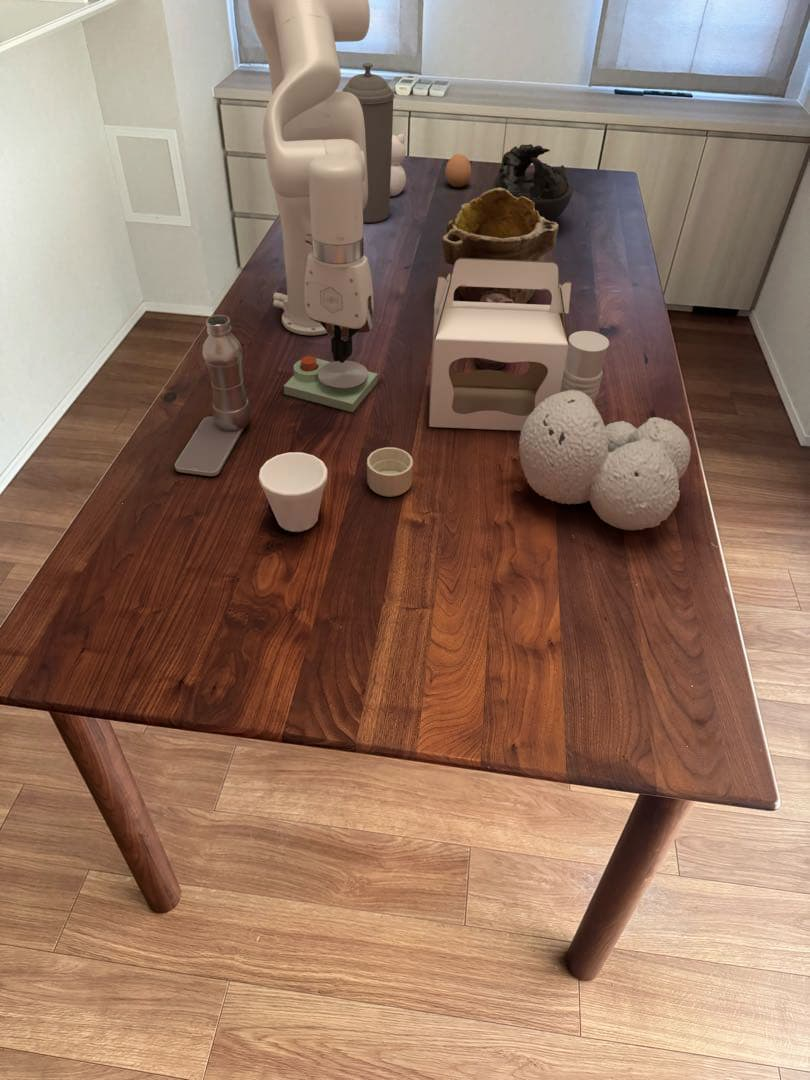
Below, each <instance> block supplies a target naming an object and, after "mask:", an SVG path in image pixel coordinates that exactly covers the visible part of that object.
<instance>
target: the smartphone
mask: <svg viewBox="0 0 810 1080" xmlns="http://www.w3.org/2000/svg"><path fill="white" fill-rule="evenodd" d="M244 429H245V427H244V428H243V429H240V430H237V431H226V430H223V429H221V428H220V427H219V426H218V425H217V424H216V423H215V420H214V417H213V416H206V417H204V418H202V420H201V422H200V424H199V425H198V427H197V428H196V429H195V432H194V433H193V434H192V437H191V438H190V439H189V440H188V443H187V444H186V446H185V447H184V449H183V451H181V454H180V455H179V457H178V458H177V460H176V461H175V463H174V468H175V471H176V472H179V473H183V474H191V475H197V476H207V477H216V476H218V475H219V474H220V472H221V470H222V468H223V466H224V465H225V463H226V461H227V459H228V457H229V456H230V454H231V452H232V450H233V448H234V447H235V445H236V444H237V441H238V440H239V438H240V436H241V434H242V433H243V431H244Z"/></svg>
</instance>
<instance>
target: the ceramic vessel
mask: <svg viewBox="0 0 810 1080" xmlns="http://www.w3.org/2000/svg"><path fill="white" fill-rule="evenodd" d="M534 205H535V203H534V202H533V201H531V200H529V199H528V198H525V197H520V198H516V197H514V196H513V195H512V194H511V193H509V191H508V190H506V189H504V188H494V189H493V188H492V189H489V190H486V191H484V192H483V193H481V194H480V195H479V196H478V197H475V198H473V199H471V200H470V201H469V202H466V203H462V204H461V205H460V207H459V211H458V212H457V214H456V216H455V218H454V219H451V220H449V221H448V223H447V225H446V234H443V236H441V246H442V253H443V258H444V262H445V263H446V264H448V265H452V266H454V264H455V261H456V260H457V259H459V258H475V259H500V260H524V261H540V258H541V257H542V256H543V255H545V254H547V253H549V252H551V251H553V250H554V249H555V247H556V244H557V236H558V231H559V224H558V223H557V222H556V221H553V222H550V221H548V220H545V218H543V217H542V216H540V215H539V212H538V211H535V208H534ZM456 290H457V291H458V293H459V294H460V296H461V297H462V298H463V299H464V301H465V302H480V300H481V298H482V297H483V295H484V294H485V293H486V292H489V291H502V292H505V293H508V294H509V295H510V296H511V297H512V300H513V302H514V304H527V302H528V301H530V299H531V298H532V296H533V295H534V292H535V290H536V289H520V288H496V287H472V286H465V287H462V286H459V287H457V288H456Z"/></svg>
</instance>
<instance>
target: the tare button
mask: <svg viewBox="0 0 810 1080" xmlns="http://www.w3.org/2000/svg"><path fill="white" fill-rule="evenodd" d="M300 360H301V366H302V370H303V371H314V370H316V369H317V362H316V357H314V356H312V355H305V356H303V357H301V359H300Z"/></svg>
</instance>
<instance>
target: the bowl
mask: <svg viewBox="0 0 810 1080" xmlns="http://www.w3.org/2000/svg"><path fill="white" fill-rule="evenodd" d="M413 466H414V459H413V457H412V455H411V454H410V453H409V452H407V451H405V450H404V449H402V448H399V447H390V446H387V447H381V448H377V449H376V450H374V451H372V452H371V453H369V455H368V457H367V459H366V473H367V474H366V484H367V485H368V487H369V489H370V490H372V492H374V494H375V493H376V494H377V495H379V496H382V497H392V498H393V497H398V496H401V495H403V494H404V493H406V492H407V491H409V490H410V488H411V487H412V485H413V469H414V467H413Z"/></svg>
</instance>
